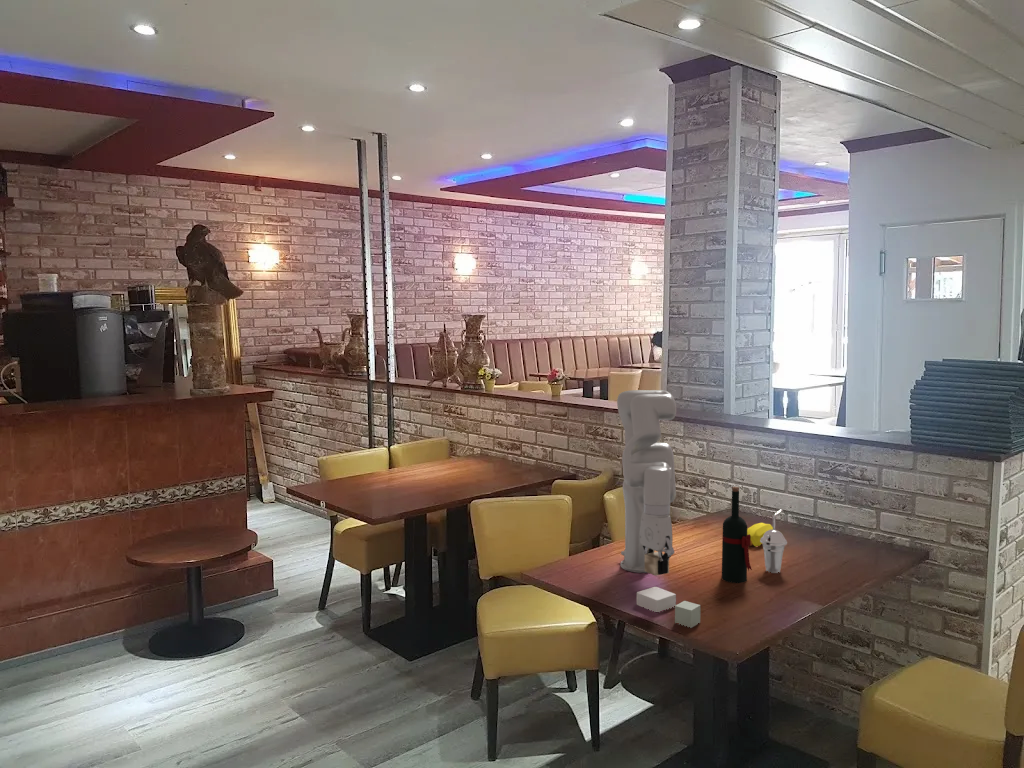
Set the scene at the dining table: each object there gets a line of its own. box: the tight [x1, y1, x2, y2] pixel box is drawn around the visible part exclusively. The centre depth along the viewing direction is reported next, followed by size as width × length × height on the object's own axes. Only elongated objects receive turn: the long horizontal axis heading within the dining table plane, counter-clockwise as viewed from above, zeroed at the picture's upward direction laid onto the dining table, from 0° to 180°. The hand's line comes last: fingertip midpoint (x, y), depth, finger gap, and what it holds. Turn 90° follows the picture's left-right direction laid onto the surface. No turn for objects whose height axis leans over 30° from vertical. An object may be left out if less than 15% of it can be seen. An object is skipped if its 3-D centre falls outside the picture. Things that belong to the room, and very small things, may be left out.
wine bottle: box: [721, 486, 753, 584], centre depth 237 cm, size 8×10×30 cm
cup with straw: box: [760, 508, 788, 574], centre depth 246 cm, size 8×9×20 cm
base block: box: [636, 586, 677, 613], centre depth 218 cm, size 8×8×4 cm
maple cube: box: [645, 551, 670, 577], centre depth 216 cm, size 5×5×5 cm
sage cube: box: [674, 600, 701, 629], centre depth 205 cm, size 5×5×5 cm
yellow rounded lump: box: [747, 522, 773, 548], centre depth 278 cm, size 18×7×8 cm
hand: (656, 570), depth 216 cm, fingers closed on maple cube, 4 cm apart
